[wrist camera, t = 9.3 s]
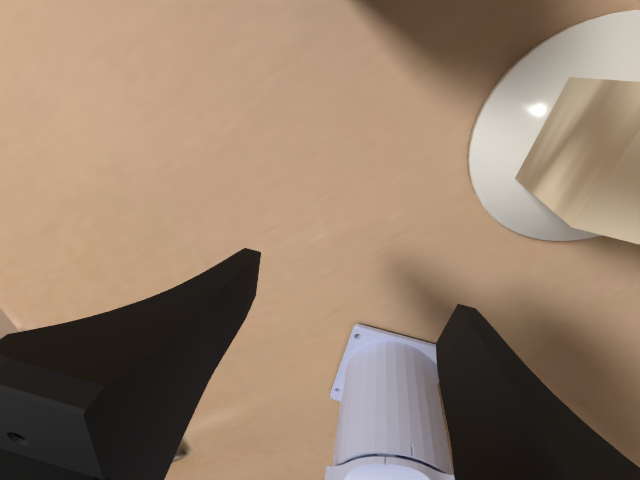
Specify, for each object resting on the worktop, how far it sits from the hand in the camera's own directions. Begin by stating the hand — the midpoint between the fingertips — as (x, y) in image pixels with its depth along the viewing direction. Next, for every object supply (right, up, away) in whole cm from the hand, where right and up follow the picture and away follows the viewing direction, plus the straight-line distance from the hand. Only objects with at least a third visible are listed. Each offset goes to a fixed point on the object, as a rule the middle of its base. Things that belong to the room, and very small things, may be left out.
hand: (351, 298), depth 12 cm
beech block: (+12, +7, +4) cm, 15 cm away
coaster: (+12, +7, +5) cm, 15 cm away
